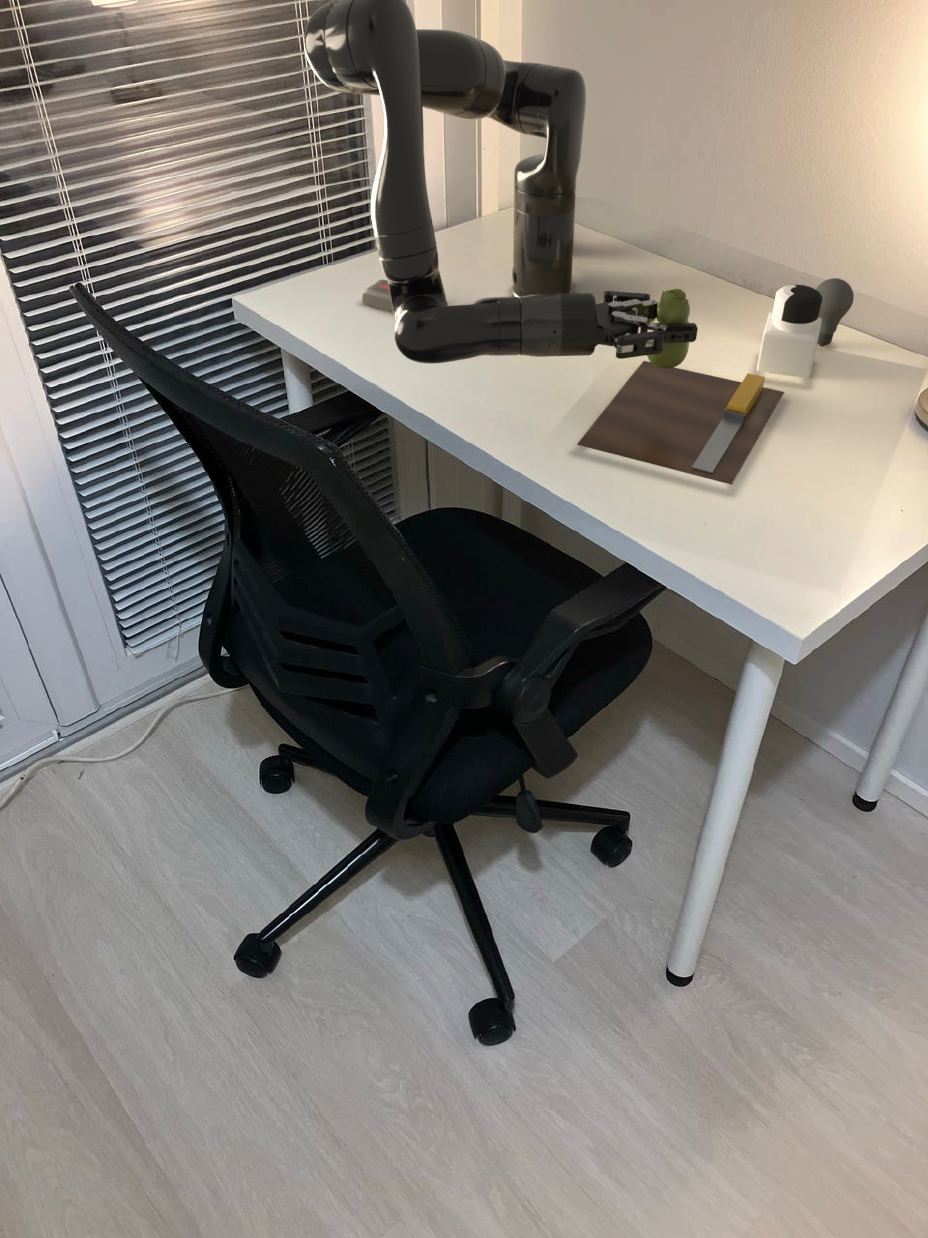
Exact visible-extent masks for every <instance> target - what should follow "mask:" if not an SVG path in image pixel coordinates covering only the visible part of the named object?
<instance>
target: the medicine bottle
mask: <svg viewBox="0 0 928 1238" xmlns="http://www.w3.org/2000/svg"><path fill="white" fill-rule="evenodd" d="M821 303H822V295H821V294H820V292H819V291H817V290H816V288H814V287H812V286H808V285H804V284H789V285H785V286H783V287H781V288H779V289H778V290H777V291H776V292H775V298H774V303H773V309H772V310H771V311H769V313H768V316H767V320H766V324H765V326H764V330H763V333H762V337H761V338H762V339H761V344H760V350H759V354H758V359H757V365H756V371H757V372H761V373H766V374H775V375H781V376H788V377H795V378H796V377H797V378H802V379H809V378H810V377H811V374H812V368H813V364H814V359H815V356H816V355H815V354H816V349H817V345H818V344H817V342H818V337H819V332H820V327H821V322H822V319H821V318H820V317H819V312H820V308H821Z"/></svg>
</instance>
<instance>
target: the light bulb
mask: <svg viewBox="0 0 928 1238" xmlns="http://www.w3.org/2000/svg"><path fill="white" fill-rule="evenodd" d="M815 289H816V290H817V291H819V292H820V294H821V295H822V303H821V308H820V312H819V317H820V318H821V319H822V322H821V327H820V332H819V337H818V342H817V345H818V346H820V347H826V346H829V345H830V344H831V343H832V340H833V338H834V334H835V333H836V331H837V329H838V326H839V324H840V321H842V319H843V318H844V317H845V316H846V314H847V313H848V312H849V311H850V310H851V308H852V306H853V304H854V297H855V296H854V291H853V289H852V286H851V285H850V283H848V282H847V281H846V280H844V279H842V278H837V277H833V278H828V279H825V280H824V281H822V282H821V283H819V284H818V285H817V286H816V288H815Z"/></svg>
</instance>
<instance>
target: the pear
mask: <svg viewBox="0 0 928 1238" xmlns="http://www.w3.org/2000/svg"><path fill="white" fill-rule="evenodd" d="M690 308H691V307H690V303H689V300H688V299H687V294H686V292H685V291H684V290H682V289H681V288H673V289H669V290H668V289H665V290H662V293H661V295H660V298H659V301H658V309H657V317H658V320H659V322H658V323H662V324H666V325H667V324H669V323H690V322H689V318H690V312H691V309H690ZM652 331H654V330H652ZM649 346H653V345H646V347H649ZM689 347H690V342H678V343H665V345H664V346H663V351H662V353H659V354H652V355H646V357H647V359H648V360H649V361H648V362H651V363H652V364H653V365H655V366H657V367H659V368H664V369H669V368H674V367H675V368H677V367H678V366H680V365H681V364H682V363H683V362H684V361H685V359H686V357H687V355H688V353H689Z"/></svg>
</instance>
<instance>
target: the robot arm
mask: <svg viewBox="0 0 928 1238" xmlns="http://www.w3.org/2000/svg"><path fill="white" fill-rule="evenodd" d="M303 43H304V44H303V46H304V52H305V55H306V58H307V62H308V63H309V65H310V68H311V69H312V71H313V73H314V74H315V75H316V76H317V78H318V79H319V80H320V81H321V82H322V83H323V84H324V85H325V86H326V87H328V88H329V89H331V90H332V91H334V92H337V93H339V94H346V95H347V94H348V95H369V96H379V97H380V98H381V103H382V107H383V109H382V110H383V117H384V134H383V142H382V149H381V152H380V158H379V161H378V166H377V169H376V173H375V177H374V182H373V186H372V191H371V198H370V217H371V226H372V230H373V234H374V239H375V245H376V248H377V254H378V257H379V258H378V259H379V262H380V267H381V270H382V272H383V275H384V277H385V280H387V281H388V285H389V291H390V297H391V302H392V308H393V312H392V313H393V314H392V315H393V321H394V328H393V338H394V342H395V345H396V347H397V350H398V352H400V353H401V354H402V355H403V356H404V357H405V358H407V359H408V360H410V361H411V362H414V363H419V364H444V363H451V362H457V361H462V360H463V361H464V360H468V359H473V358H477V357H482V356H491V357H498V356H501V357H504V356H507V357H508V356H528V357H537V358H538V357H541V358H542V357H543V358H544V357H579V356H580V357H582V356H583V357H584V356H591V355H593V353H594V352H595V350H596V347H597V346H598V345H602V346H606V347H607V346H608V347H614V349H615V358H616V359H619V360H623V359H630V358H637V357H643V356H647V355H652V354H659V353H662V351H663V346H664V345H665V343H678V342H689V343H694V342H695V341H696V340H697V336H698V330H699V329H698V325H697V323H695V322H689V323H669V324H667V325H666V324H662V323H659V320H658V317H657V309H658V303H659V301H658V300H656V299H651V295H650V293H646V292H643V293H642V292H631V291H630V292H629V291H619V290H617V291H616V290H605V291H603V294H602V302H599V303H597V300H596V297H595V295H594V293H592V292H572V279H573V278H572V274H573V261H574V260H573V258H574V257H573V256H574V241H575V240H574V237H575V217H576V199H577V197H576V195H577V181H578V180H577V179H578V172H579V169H580V164H581V160H582V159H581V158H582V150H583V149H582V148H583V137H584V130H585V129H584V127H585V120H586V119H585V118H586V111H587V110H586V108H587V87H586V82H585V79H584V77H583V75H582V73H581V72H580V71H578V70H577V69H574V68H569V67H563V66H557V65H553V64H552V65H551V64H545V63H539V62H525V61H524V62H522V61H511V60H505V59H504V58H503V56H502V55H501V53H500V52H499V51H498V50H497V49H496V47H494V46H493V45H492V44H490V43H488V42H486V41H484V40H483V39H480V38H477V37H475V36H473V35H469V34H468V33H464V32H460V31H455V30H449V29H424V28H423V29H422V28H421V29H420V28H419V29H418V28H417V27H416V22H415V18H414V17H413V13H412V12H411V9H410V7H409V5H408V3H406V0H331V1H329V2H327V3H325V4H323V5H321V6H320V7H319V8H317V9H316V10H315V11H314V12H313V14H311V16H310V18H309V19H308V21H307V24H306V26H305V30H304V35H303ZM423 108H424V109H428V110H431V111H435V112H438V113H440V114H443V115H448V116H452V117H456V118H460V119H465V120H482V119H485V118H488V119H491V120H493V121H495V122H496V123H499V124H501V125H503V126H505V127H507V128H508V129H510V130H512V131H515V132H517V133H520V134H523V135H527V136H532V137H537V138H543V139H545V148H544V152H543V153H539V154H534V155H531V156H528V157H527V156H526V157H525V158H523V159H521V160H520V161H518V163H516V165H515V167H514V174H513V176H514V178H513V179H514V180H513V181H514V182H513V183H514V184H513V186H514V187H513V192H514V193H513V258H512V259H513V260H512V261H513V263H512V272H511V281H512V287H511V288H512V290H511V294H512V296H492V297H491V296H489V297H484V298H479V299H477V300H476V301H474V302H473V303H470V304H455V305H448V302H447V297H446V293H445V288H444V285H443V280H442V276H441V273H440V269H439V266H440V265H439V253H438V252H439V251H438V246H437V239H436V234H435V229H434V223H433V219H432V213H431V208H430V207H431V206H430V201H429V195H428V187H427V178H426V162H425V137H424V136H425V135H424V109H423ZM656 321H657V322H656ZM653 330H654V331H653ZM646 345H653V346H649V347H646Z"/></svg>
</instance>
